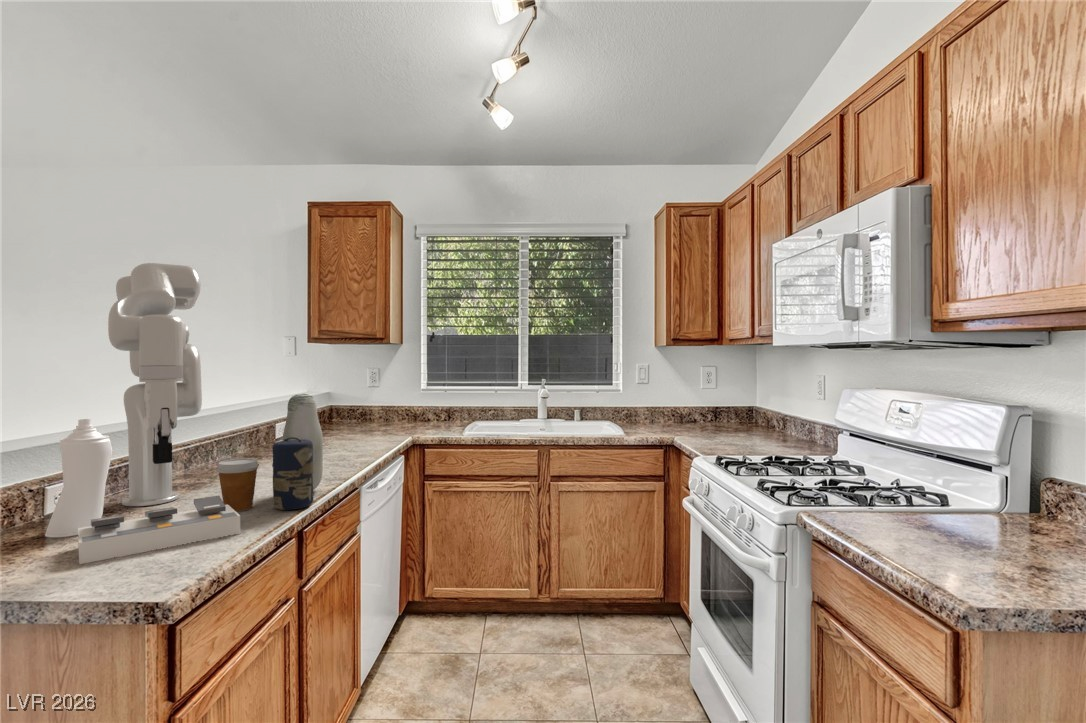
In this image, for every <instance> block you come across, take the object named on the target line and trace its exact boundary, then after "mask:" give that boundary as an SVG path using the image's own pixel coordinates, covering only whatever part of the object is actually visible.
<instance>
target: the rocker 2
mask: <svg viewBox="0 0 1086 723" xmlns="http://www.w3.org/2000/svg"><path fill="white" fill-rule="evenodd" d="M193 505H194V507H195V510H196V509H197V511H198V513H199V515H203V514H209V513H215V512H221V511H226V506H225V504H224V503H223V498H221V496H220V495H213V496H206V497H205V496H204V497H200V498H193Z"/></svg>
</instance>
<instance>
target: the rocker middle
mask: <svg viewBox="0 0 1086 723" xmlns="http://www.w3.org/2000/svg"><path fill="white" fill-rule="evenodd" d="M177 512H178V508H176V507H174V506H173V507H172V506H171V507H166V508H157V509H152V510H145V511H144V518H145V517H147V518H152V517H159V516H165V515H171V514H177Z"/></svg>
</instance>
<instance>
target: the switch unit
mask: <svg viewBox="0 0 1086 723" xmlns="http://www.w3.org/2000/svg"><path fill="white" fill-rule="evenodd" d="M225 506H226V511H221V512H215V513H209V514H203V515H199V513H198V511H197V509H196V508H195V509H192V510H183V511H177V514H171V515H165V516H159V517H152V518H147V517H145V516H144V517H140V518H134V519H127V520H124V522H121V523H114V524H108V525H102V526H95V527H92V526H88V527H82V528H78V535H77V542H78V543H77V550H78V564H79V565H83V564H88V563H93V562H97V561H98V562H99V561H103V560H109V559H115V558H120V557H125V556H129V555H130V556H131V555H135V554H140V553H145V552H146V553H147V552H152V551H156V549H157V550H162V548H163V549H167V547H168V548H172V546H173V547H177V545H178V546H183V545H182V544H184V545H187V544H186V543H189V544H192V543H191V542H194V543H197V542H196V541H200V542H203V541H202V540H205V541H207V540H206V539H210V540H213V539H212V538H215V539H219V538H218V537H221V538H224V537H223V536H226V537H229V536H228V535H231V536H235V535H234V534H236V535H240V534H241V514H239V513H238V511H235V510H234V509H232V508H231V507H230V506H229V505H225ZM151 550H152V551H151ZM114 557H115V558H114Z"/></svg>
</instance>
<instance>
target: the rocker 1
mask: <svg viewBox="0 0 1086 723" xmlns="http://www.w3.org/2000/svg"><path fill="white" fill-rule="evenodd" d="M124 521H125V516H124V515H122V514H119V515H112V516H106V517H101V518H98V519H91V526H92V527H95V526H102V525H108V524H114V523H121V522H124Z"/></svg>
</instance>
